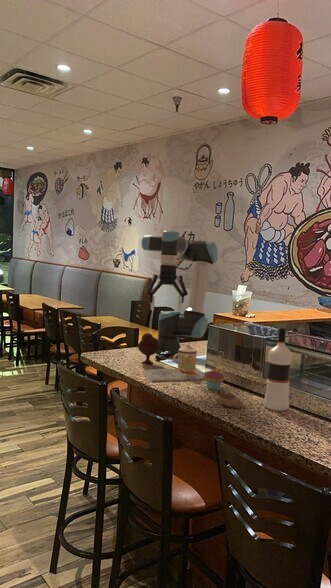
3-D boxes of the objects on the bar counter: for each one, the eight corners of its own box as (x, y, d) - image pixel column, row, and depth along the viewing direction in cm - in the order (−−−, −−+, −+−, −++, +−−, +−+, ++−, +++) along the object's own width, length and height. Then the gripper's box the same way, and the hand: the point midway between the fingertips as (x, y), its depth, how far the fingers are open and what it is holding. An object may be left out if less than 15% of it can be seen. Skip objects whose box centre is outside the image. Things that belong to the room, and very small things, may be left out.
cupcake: (219, 385, 199) (221, 357, 198) (226, 390, 191) (228, 362, 190) (200, 385, 197) (202, 357, 196) (206, 391, 189) (208, 362, 188)
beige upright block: (180, 375, 212) (182, 354, 211) (189, 374, 213) (191, 354, 213) (184, 377, 208) (185, 357, 207) (193, 377, 209) (194, 356, 209)
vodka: (262, 409, 170) (268, 328, 168) (264, 402, 179) (270, 325, 177) (288, 413, 167) (295, 331, 165) (289, 405, 176) (296, 327, 174)
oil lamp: (247, 409, 169) (248, 396, 169) (230, 411, 166) (231, 398, 165) (226, 398, 181) (226, 386, 180) (209, 400, 177) (210, 387, 177)
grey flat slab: (143, 373, 210) (143, 369, 210) (194, 372, 218) (194, 367, 218) (151, 381, 199) (151, 376, 198) (204, 379, 207) (205, 374, 207)
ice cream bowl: (135, 365, 225) (136, 334, 224) (139, 360, 236) (140, 331, 235) (156, 367, 224) (158, 336, 223) (159, 361, 235) (161, 332, 234)
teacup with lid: (189, 365, 232) (191, 342, 231) (199, 369, 224) (201, 346, 223) (168, 366, 226) (170, 343, 225) (177, 371, 218) (179, 347, 217)
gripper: (145, 263, 208) (142, 310, 210) (196, 266, 217) (193, 311, 218) (140, 262, 215) (138, 308, 217) (190, 265, 224) (187, 309, 225)
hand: (165, 310), depth 218 cm, fingers open, 13 cm apart
